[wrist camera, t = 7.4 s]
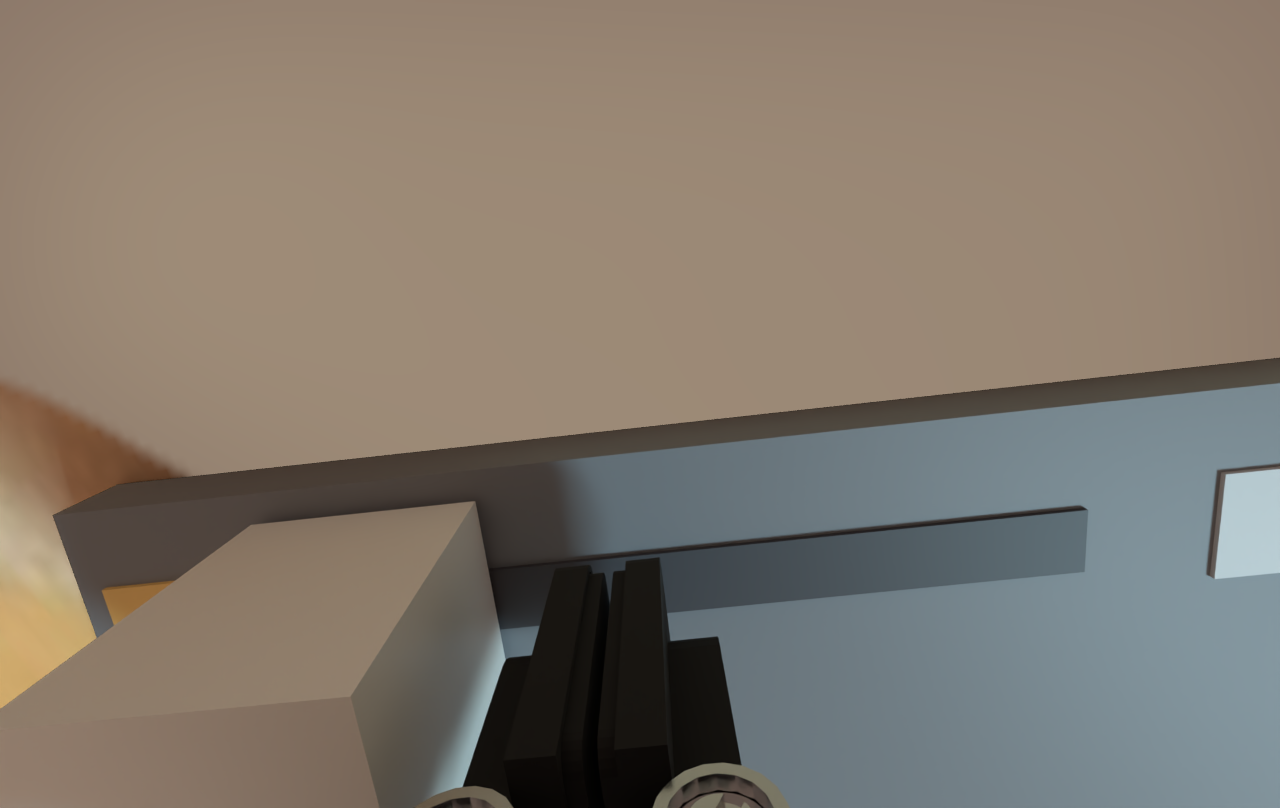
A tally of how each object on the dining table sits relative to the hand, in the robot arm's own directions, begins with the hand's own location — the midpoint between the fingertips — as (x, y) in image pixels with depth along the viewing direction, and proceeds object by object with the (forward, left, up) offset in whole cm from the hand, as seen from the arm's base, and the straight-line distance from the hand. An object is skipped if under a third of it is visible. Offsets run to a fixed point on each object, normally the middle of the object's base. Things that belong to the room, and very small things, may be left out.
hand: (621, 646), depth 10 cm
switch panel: (-2, +4, -3) cm, 6 cm away
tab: (+4, 0, -1) cm, 5 cm away
